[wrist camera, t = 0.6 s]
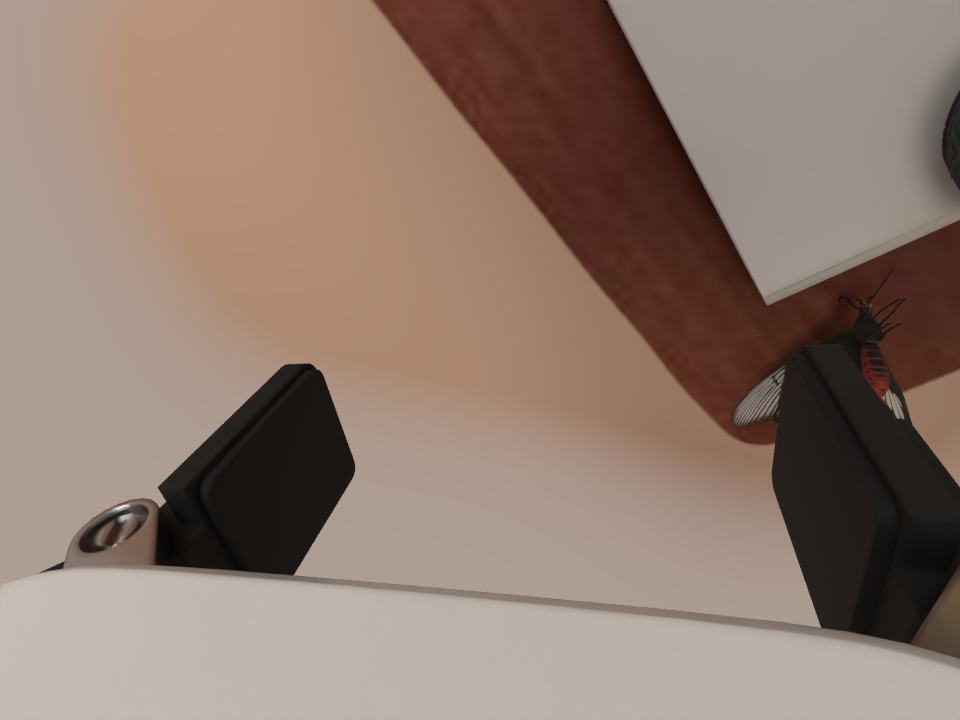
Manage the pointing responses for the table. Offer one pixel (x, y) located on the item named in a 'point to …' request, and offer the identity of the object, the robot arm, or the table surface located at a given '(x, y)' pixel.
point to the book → (808, 122)
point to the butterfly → (861, 350)
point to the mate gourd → (952, 141)
